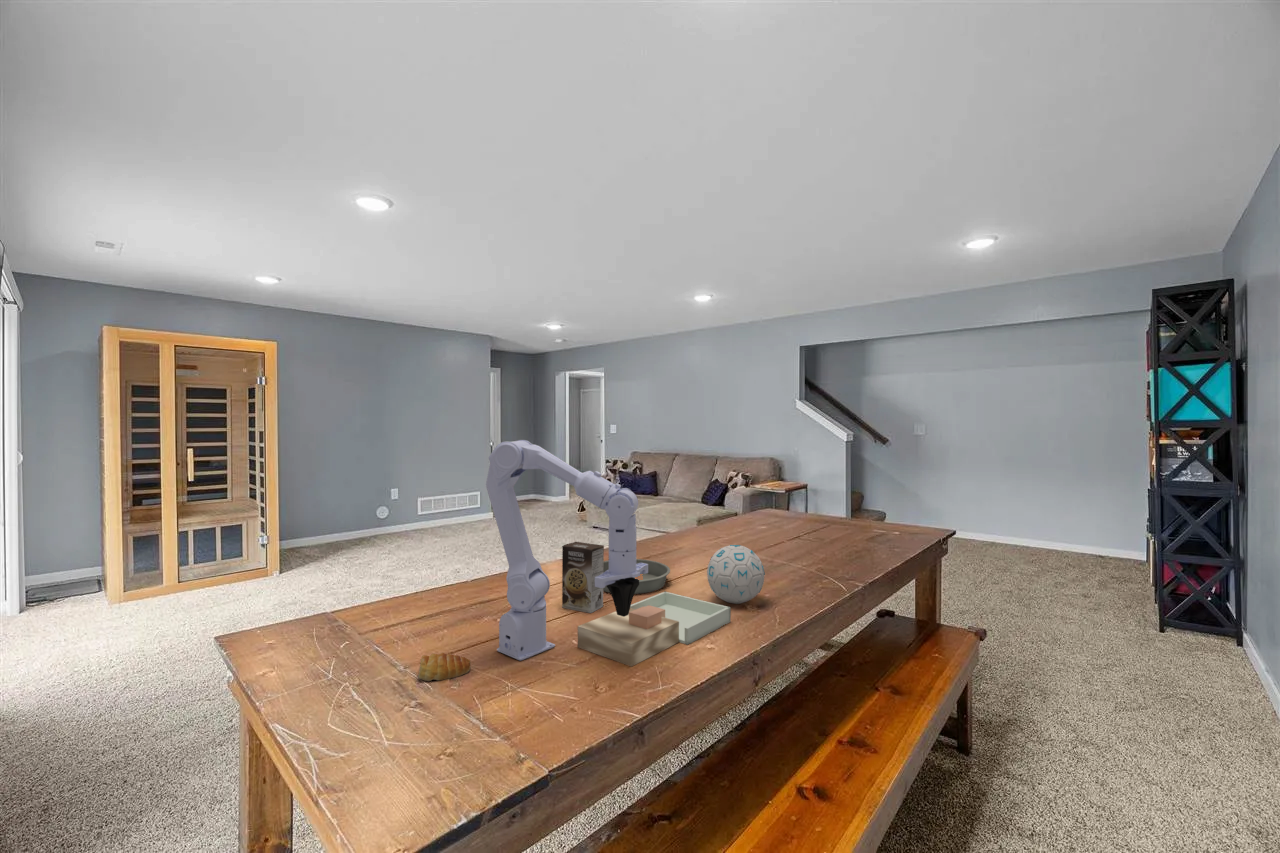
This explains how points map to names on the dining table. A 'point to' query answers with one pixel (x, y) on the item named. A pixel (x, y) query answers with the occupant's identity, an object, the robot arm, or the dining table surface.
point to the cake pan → (647, 576)
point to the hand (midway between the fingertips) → (622, 614)
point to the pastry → (442, 666)
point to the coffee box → (582, 576)
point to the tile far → (658, 609)
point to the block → (626, 638)
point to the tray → (689, 614)
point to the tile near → (645, 617)
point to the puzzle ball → (735, 574)
